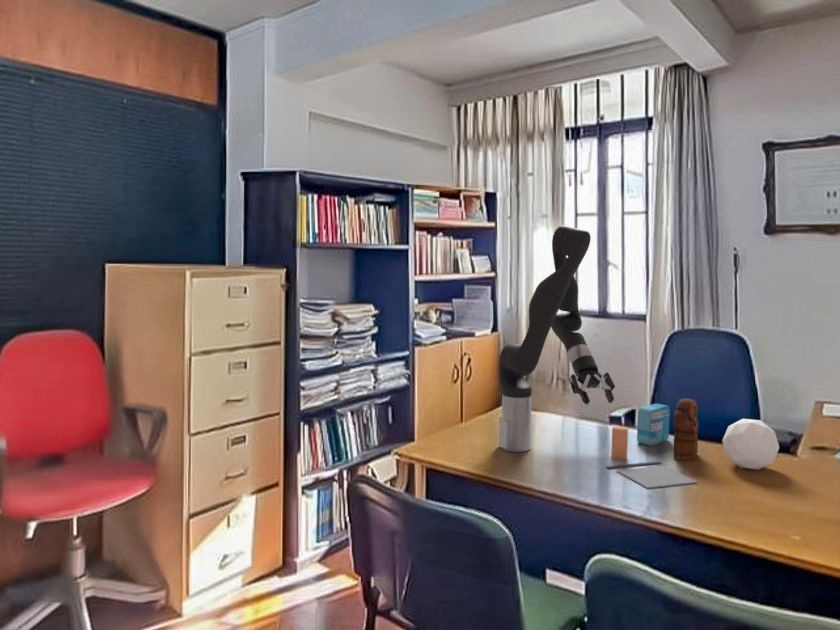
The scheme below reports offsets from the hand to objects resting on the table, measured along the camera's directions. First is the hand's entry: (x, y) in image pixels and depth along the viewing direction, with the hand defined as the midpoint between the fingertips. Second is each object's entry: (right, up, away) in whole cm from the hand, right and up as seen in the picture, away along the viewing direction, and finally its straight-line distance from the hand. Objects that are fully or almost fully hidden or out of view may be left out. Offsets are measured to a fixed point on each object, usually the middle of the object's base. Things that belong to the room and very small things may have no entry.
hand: (599, 402), depth 212 cm
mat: (+8, -17, -25) cm, 31 cm away
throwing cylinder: (+3, -16, -9) cm, 19 cm away
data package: (+20, -14, +8) cm, 26 cm away
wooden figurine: (+25, -16, -7) cm, 30 cm away
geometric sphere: (+39, -17, -17) cm, 46 cm away
